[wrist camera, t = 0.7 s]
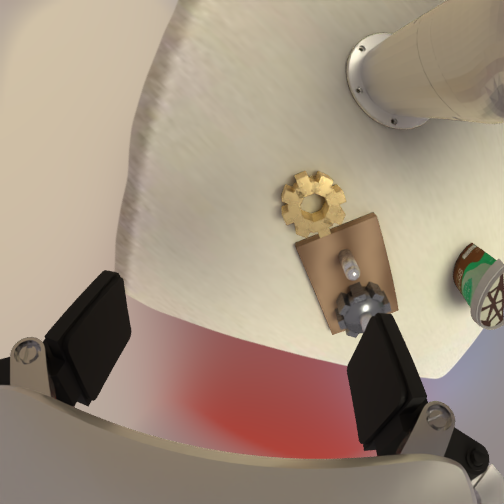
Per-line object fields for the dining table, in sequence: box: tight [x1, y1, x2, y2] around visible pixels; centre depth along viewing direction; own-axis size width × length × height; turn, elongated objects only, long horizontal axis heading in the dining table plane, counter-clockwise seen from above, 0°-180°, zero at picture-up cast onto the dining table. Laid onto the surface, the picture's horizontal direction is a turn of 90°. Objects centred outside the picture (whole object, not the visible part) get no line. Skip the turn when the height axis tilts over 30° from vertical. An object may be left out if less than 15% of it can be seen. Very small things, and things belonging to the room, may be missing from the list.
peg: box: [338, 249, 360, 281], centre depth 33 cm, size 2×2×5 cm
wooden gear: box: [281, 171, 346, 238], centre depth 32 cm, size 7×7×3 cm
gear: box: [335, 281, 391, 338], centre depth 36 cm, size 8×8×6 cm
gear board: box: [295, 213, 398, 335], centre depth 37 cm, size 11×16×2 cm
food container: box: [453, 243, 504, 330], centre depth 32 cm, size 12×6×10 cm, turn 33°
